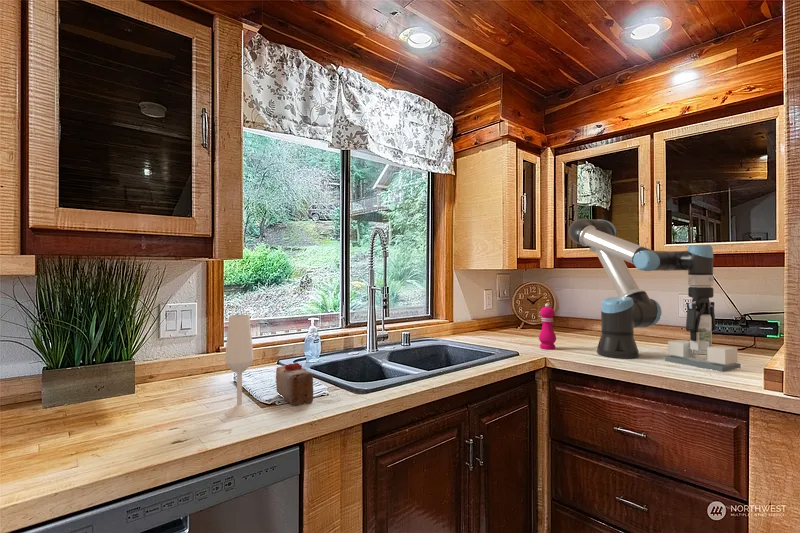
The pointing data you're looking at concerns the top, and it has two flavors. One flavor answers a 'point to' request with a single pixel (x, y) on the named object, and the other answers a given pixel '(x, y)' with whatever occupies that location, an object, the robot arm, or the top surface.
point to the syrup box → (704, 335)
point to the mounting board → (702, 364)
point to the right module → (722, 354)
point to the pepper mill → (547, 329)
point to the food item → (295, 384)
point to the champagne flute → (239, 357)
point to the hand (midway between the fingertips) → (701, 348)
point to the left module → (679, 348)
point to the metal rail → (702, 359)
